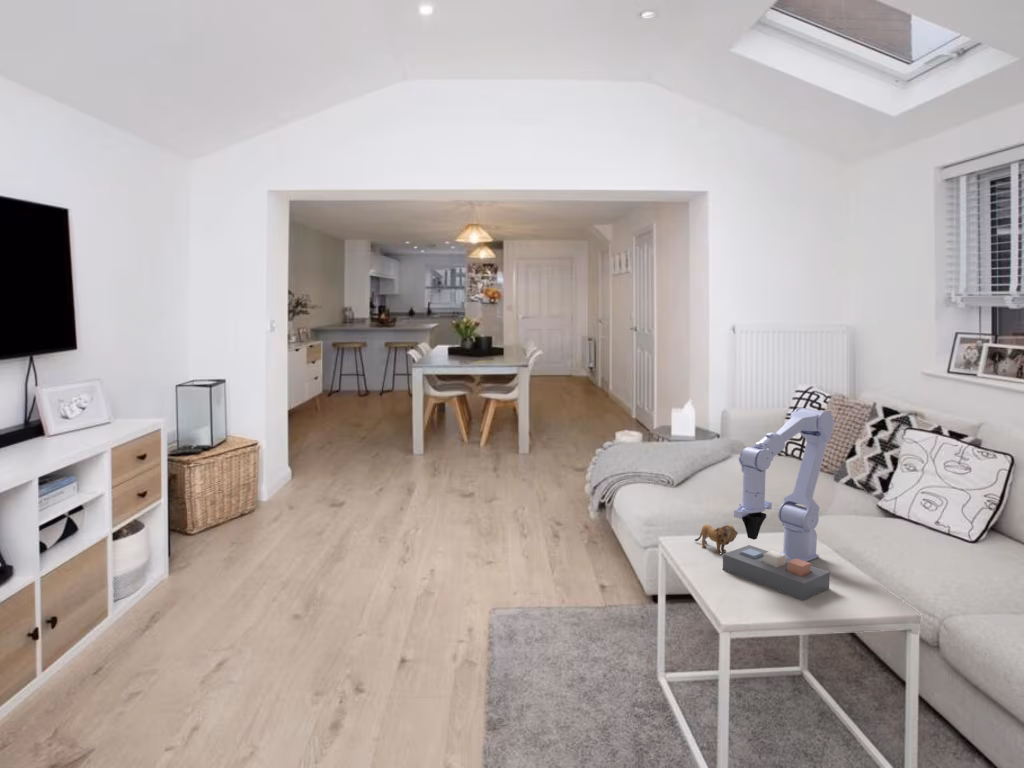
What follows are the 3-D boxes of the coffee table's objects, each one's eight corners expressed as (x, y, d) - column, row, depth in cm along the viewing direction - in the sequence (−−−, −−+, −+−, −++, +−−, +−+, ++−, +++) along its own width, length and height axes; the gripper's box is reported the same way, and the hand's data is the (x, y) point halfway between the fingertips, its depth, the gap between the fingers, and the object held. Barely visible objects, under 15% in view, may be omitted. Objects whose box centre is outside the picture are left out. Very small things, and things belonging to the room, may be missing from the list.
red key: (795, 569, 167) (796, 558, 167) (810, 574, 164) (810, 563, 164) (787, 572, 165) (787, 561, 165) (801, 577, 162) (802, 566, 162)
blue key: (749, 558, 179) (749, 548, 179) (762, 563, 176) (762, 552, 175) (740, 561, 177) (741, 551, 176) (753, 566, 174) (753, 555, 173)
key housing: (748, 559, 184) (749, 544, 183) (829, 588, 164) (829, 572, 164) (722, 569, 177) (723, 554, 177) (803, 600, 158) (804, 583, 157)
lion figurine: (739, 554, 188) (740, 525, 187) (728, 558, 185) (729, 528, 184) (699, 540, 200) (700, 512, 199) (688, 544, 197) (689, 516, 196)
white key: (772, 560, 173) (772, 550, 173) (785, 565, 170) (785, 554, 170) (763, 564, 171) (763, 553, 171) (776, 568, 168) (777, 558, 167)
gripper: (756, 483, 181) (755, 529, 183) (725, 491, 173) (723, 539, 175) (779, 488, 176) (777, 535, 177) (747, 497, 167) (745, 547, 169)
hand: (752, 538), depth 176 cm, fingers closed
